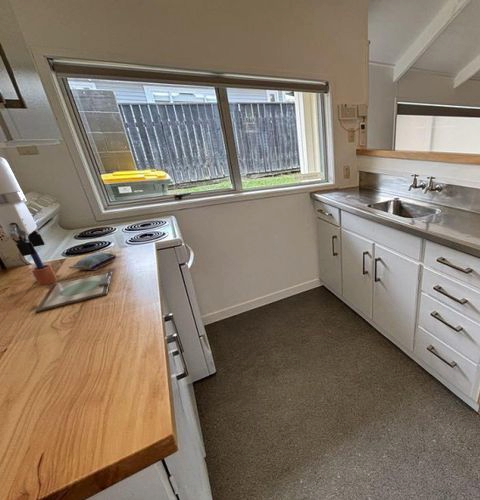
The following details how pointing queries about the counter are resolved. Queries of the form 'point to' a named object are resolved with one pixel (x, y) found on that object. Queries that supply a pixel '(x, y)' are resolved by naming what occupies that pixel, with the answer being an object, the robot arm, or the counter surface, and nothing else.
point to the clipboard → (75, 291)
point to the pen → (37, 261)
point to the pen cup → (44, 275)
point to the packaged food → (94, 261)
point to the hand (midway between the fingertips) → (34, 250)
